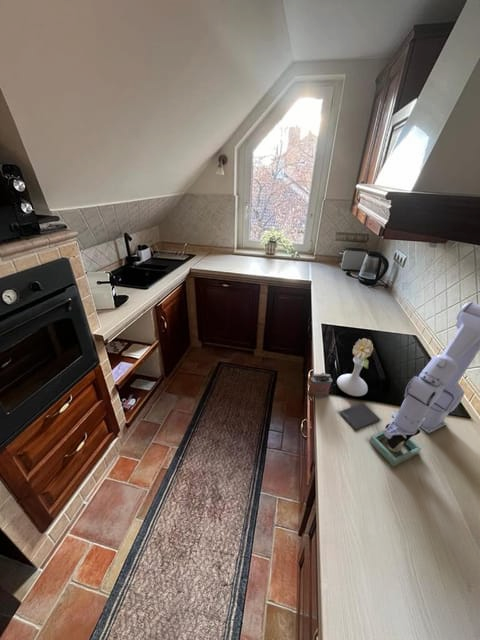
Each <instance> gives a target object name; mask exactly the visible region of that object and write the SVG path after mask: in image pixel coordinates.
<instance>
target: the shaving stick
mask: <svg viewBox="0 0 480 640" xmlns="http://www.w3.org/2000/svg"><path fill="white" fill-rule="evenodd" d="M402 436H403V437H405V438H407V436H406V435H402ZM403 443H404V441H403V442H400V443H399V444H398V446H397V447H395V448H394V449H392V448H391V447H390V446H389V445H388V444H387V443H386V446H387V448H388V449H389V451H391V452H393V453H399V452H400V450H401V449H402V447H403V445H404V444H405V443H404V444H403Z"/></svg>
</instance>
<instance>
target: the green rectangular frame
mask: <svg viewBox="0 0 480 640" xmlns="http://www.w3.org/2000/svg"><path fill="white" fill-rule="evenodd" d="M383 432H384V430H383V431H380V432H378V433H376V434H374V435H371V437H370V438H369V442H370V444H371V445H372V446H373V447H374V448H375V449H376V450H377V451H378V452H379V453H380V454H381V455H382V456H383V457H384V458H385V459H386V461H387V462H388V463H389V464H390V465H391V466H392V467H395V466H397V465H400V464H401V463H403V462H405V461H407V460H408V459H411V458H412V457H414V456H416V455H418V454H419V453H420V451H421V450H422V448H421V447H420V446H419V445H418V444H417V443H416V442H414V441H413V439H411V438H410V439H409V440H407V441H406V442H405V443H404V444H405V445H406V446H407V447H408V448H409V449H410V450H409V451H407V452H405V453H403V454H401V455H399V456H397V457H396V456H394V455H393V454H392V453H391V452H390V450H388V449H387V447H385V446H384V445H383V443H382V442H381V441H380V440H382V439H383V438H387V437H386V436H385V435H384V434H383Z"/></svg>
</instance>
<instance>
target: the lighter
mask: <svg viewBox="0 0 480 640" xmlns="http://www.w3.org/2000/svg"><path fill="white" fill-rule="evenodd" d="M332 383H333V379H332V377H331V374H329V373H325V372H321V373H313V375H312V376H311V377H310V382H309V387H308V390H307V396H309V397H311V398H326V397H328V396H329V392H330V388H331V385H332Z"/></svg>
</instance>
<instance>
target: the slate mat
mask: <svg viewBox="0 0 480 640" xmlns="http://www.w3.org/2000/svg"><path fill="white" fill-rule="evenodd" d="M339 414H340V416H342V417H343V419H345V421H346V422H347V423H348V424H349V425H350V427H352V428H353V429H354V431H355V430H356V431H357V430H358V429H359V430H360V429H361V428H364V427H366V426H368V425H370V424H374V423H376V422H378V421H380V420H381V419H380V417H379V416H378V415H376V413H375V412H373V411H372V410H371V409H370V408H369V407H368V406H367V405H366V404H365V403H364V402H362V403H359V404H356V405H354V406H351V407H349V408H346V409H342V410H341V411H339Z"/></svg>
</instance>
